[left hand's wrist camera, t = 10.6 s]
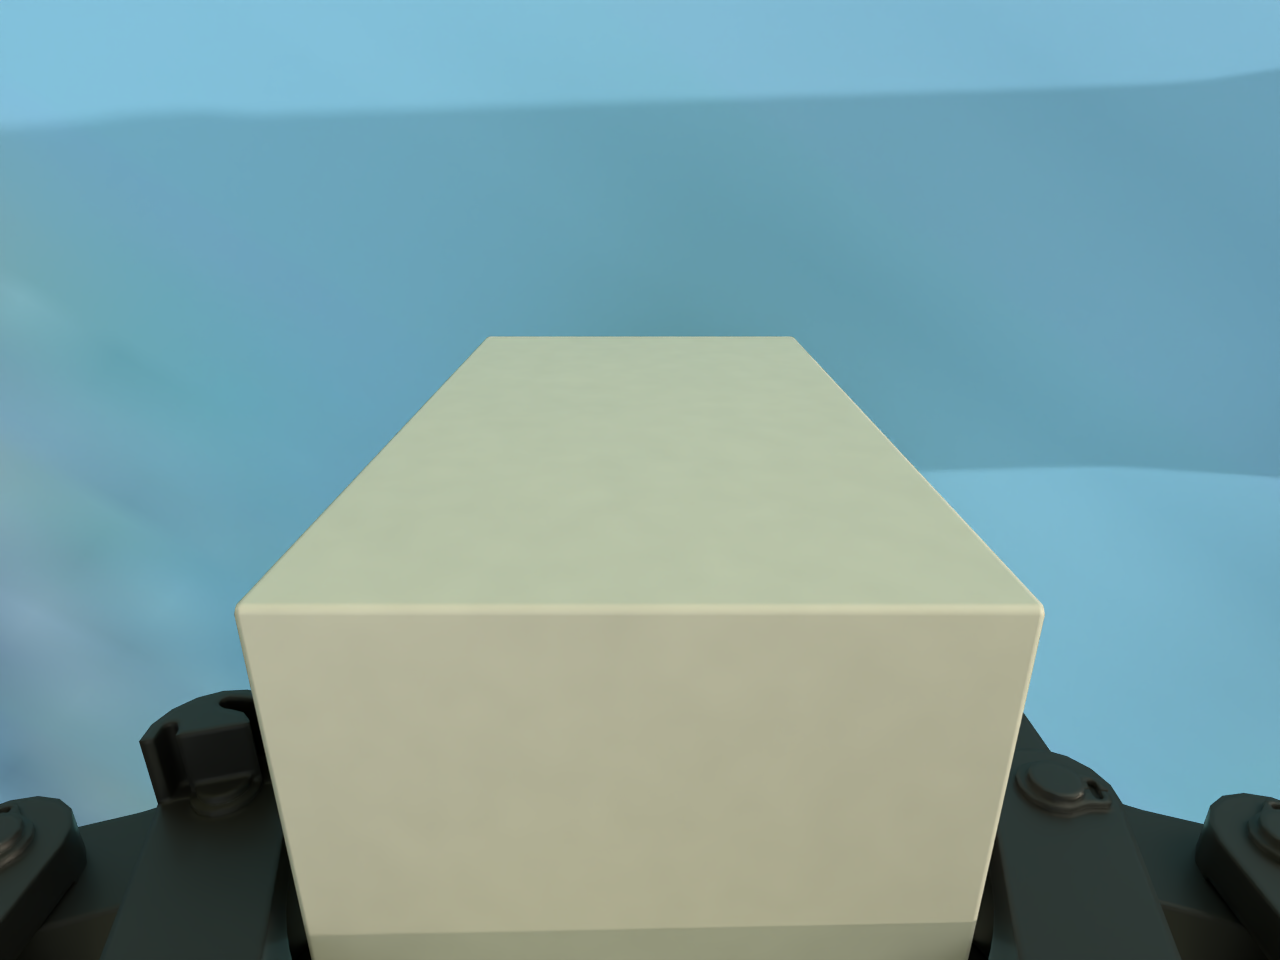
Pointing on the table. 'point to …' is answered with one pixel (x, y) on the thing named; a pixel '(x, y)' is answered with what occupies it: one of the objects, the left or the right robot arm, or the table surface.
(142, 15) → the table surface
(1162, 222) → the table surface
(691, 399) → the bar
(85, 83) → the table surface
